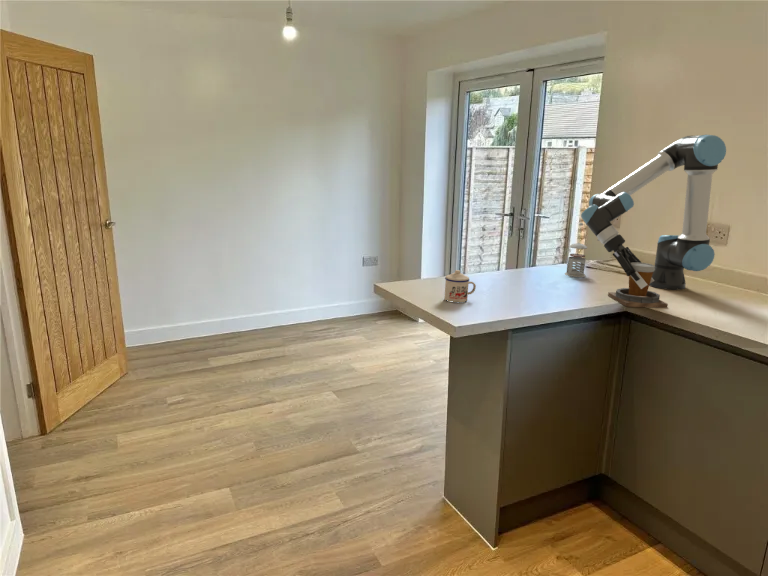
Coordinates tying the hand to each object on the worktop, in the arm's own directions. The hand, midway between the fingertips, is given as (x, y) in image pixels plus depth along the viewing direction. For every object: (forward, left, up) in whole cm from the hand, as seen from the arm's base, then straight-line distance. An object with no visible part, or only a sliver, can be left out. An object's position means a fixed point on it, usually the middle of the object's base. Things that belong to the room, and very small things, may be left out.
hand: (647, 284), depth 207 cm
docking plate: (+2, -2, -7) cm, 8 cm away
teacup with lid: (+73, +4, -8) cm, 74 cm away
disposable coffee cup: (+3, -2, -5) cm, 6 cm away
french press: (+10, -50, -8) cm, 52 cm away
